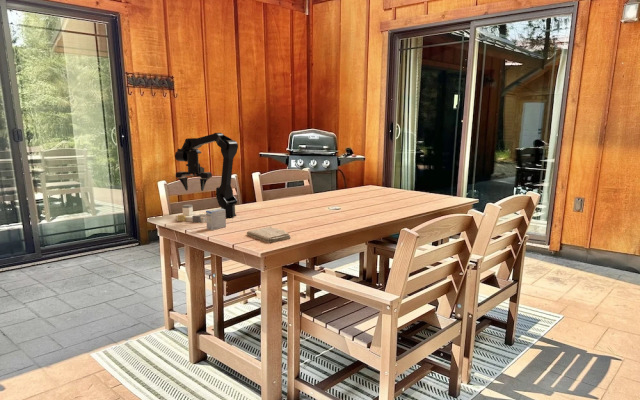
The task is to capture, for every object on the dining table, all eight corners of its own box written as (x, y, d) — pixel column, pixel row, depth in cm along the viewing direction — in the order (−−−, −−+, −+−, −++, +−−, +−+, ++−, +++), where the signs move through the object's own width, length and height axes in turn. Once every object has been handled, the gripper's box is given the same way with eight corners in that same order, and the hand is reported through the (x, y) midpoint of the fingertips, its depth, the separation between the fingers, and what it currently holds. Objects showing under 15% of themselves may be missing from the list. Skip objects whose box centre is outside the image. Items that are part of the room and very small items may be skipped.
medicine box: (220, 225, 198) (219, 207, 197) (226, 227, 195) (225, 209, 194) (206, 228, 192) (205, 210, 191) (212, 230, 189) (211, 211, 188)
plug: (193, 218, 215) (192, 204, 213) (189, 219, 211) (188, 206, 210) (186, 217, 215) (186, 204, 214) (183, 219, 212) (182, 205, 211)
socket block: (213, 217, 216) (213, 211, 215) (202, 222, 204) (202, 216, 204) (187, 216, 219) (186, 210, 218) (174, 221, 208) (174, 215, 207)
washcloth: (269, 244, 168) (269, 237, 168) (245, 236, 181) (245, 229, 181) (292, 239, 176) (292, 232, 176) (268, 231, 189) (267, 225, 189)
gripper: (215, 161, 229) (217, 189, 232) (185, 160, 233) (186, 188, 236) (206, 162, 219) (207, 192, 221) (174, 162, 223) (175, 191, 225)
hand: (194, 190), depth 226 cm, fingers open, 9 cm apart
